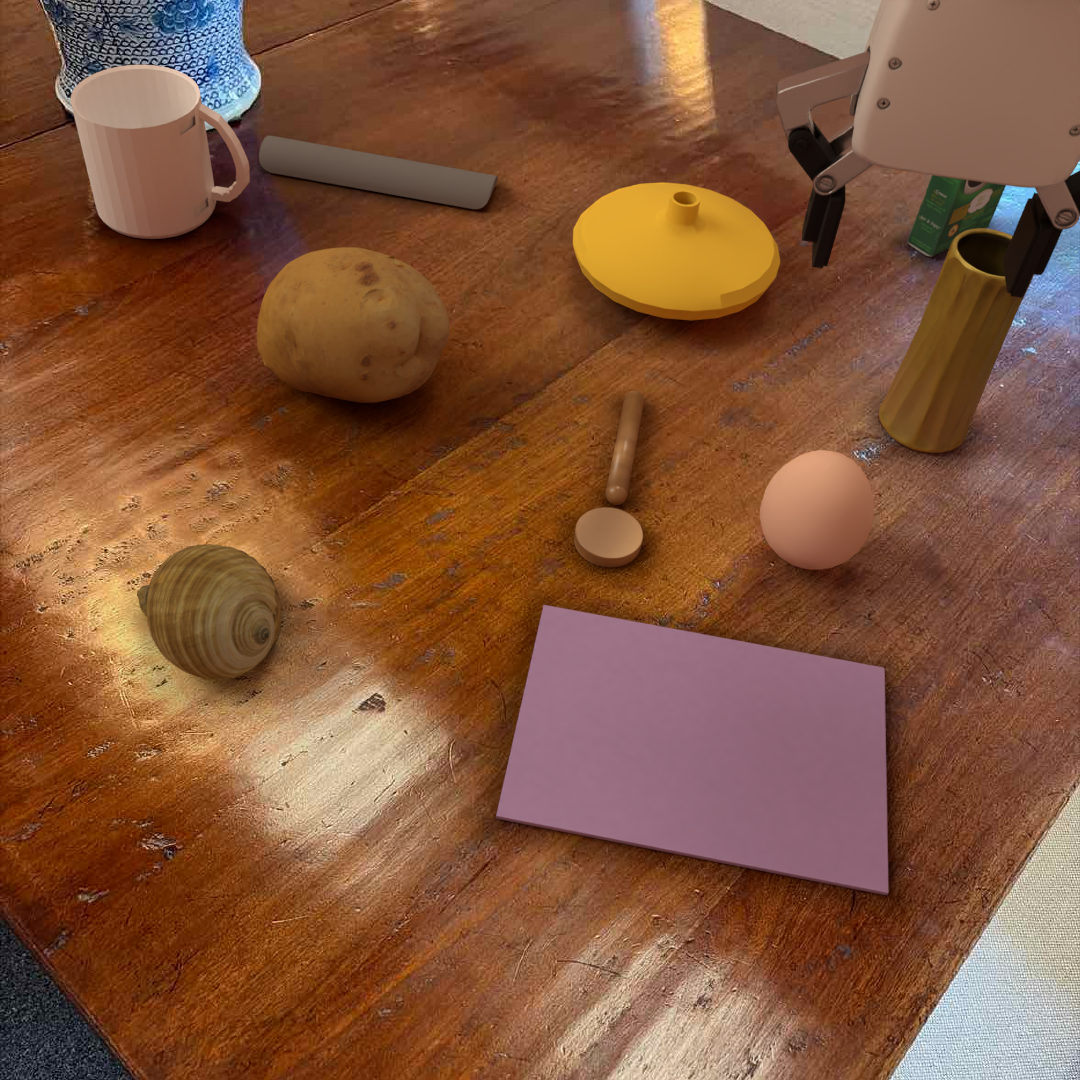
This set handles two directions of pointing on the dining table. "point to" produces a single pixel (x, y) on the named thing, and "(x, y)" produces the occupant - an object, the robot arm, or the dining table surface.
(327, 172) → the half round rod
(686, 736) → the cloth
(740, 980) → the dining table surface
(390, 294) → the potato
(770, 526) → the egg
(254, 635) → the seashell
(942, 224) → the coffee box
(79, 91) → the mug
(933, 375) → the vase
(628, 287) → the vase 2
